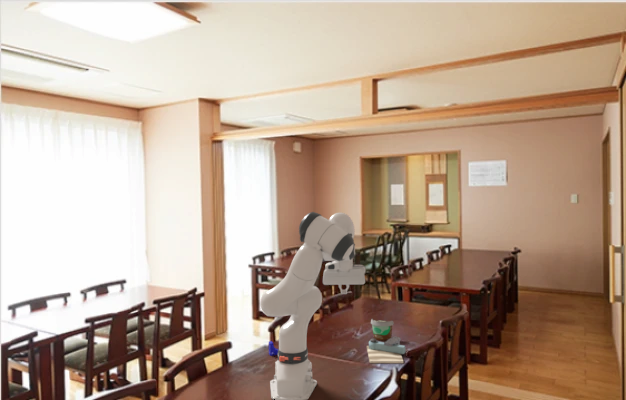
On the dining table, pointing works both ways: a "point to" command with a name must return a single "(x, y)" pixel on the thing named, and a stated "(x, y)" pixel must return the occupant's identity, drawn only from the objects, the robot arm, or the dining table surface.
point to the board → (383, 356)
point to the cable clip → (272, 349)
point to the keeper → (393, 341)
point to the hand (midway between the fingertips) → (344, 293)
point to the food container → (382, 329)
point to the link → (387, 347)
